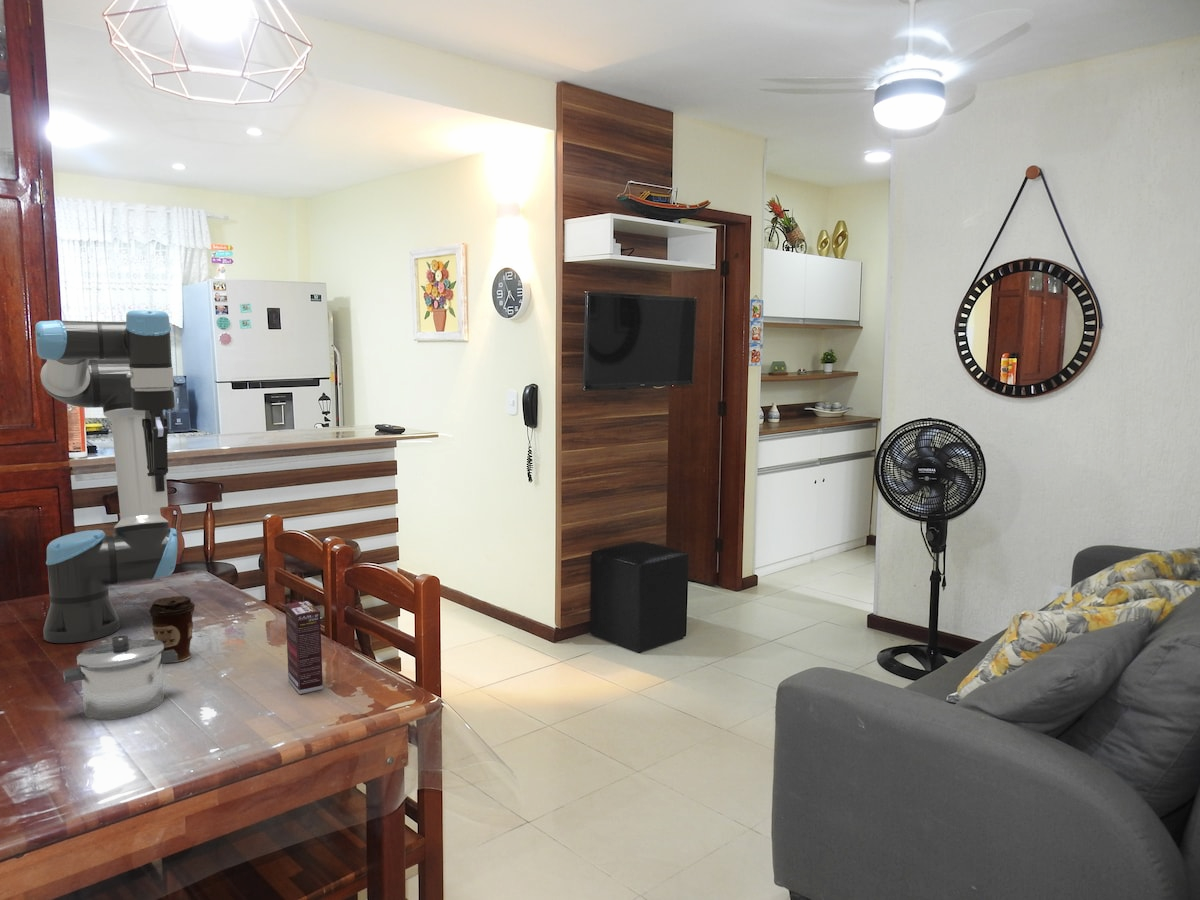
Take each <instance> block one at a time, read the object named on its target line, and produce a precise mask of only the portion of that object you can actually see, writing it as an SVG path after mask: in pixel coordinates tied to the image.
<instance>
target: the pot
mask: <svg viewBox="0 0 1200 900" xmlns="http://www.w3.org/2000/svg"><path fill="white" fill-rule="evenodd" d="M173 661H178V654H177V653H176V651H175V650H174V649H172V650H166V651H163V652H162V653H160V654H159V655H157V656H155V657H153V658H150V659H147V660H144V661H141V662H137V663H133V664H128V665H123V666H117V667H109V668H84V667H80V666H78V667H75V668H74V667H73V668H71V669H65V670H64V669H63V670H62V672H63V680H64V683H65V684H68V683H73V682H79V681H81V687H82V688H81V689H82V701H83V712H84V716H86V717H87V718H90V719H92V720H99V721H100V720H101V721H107V720H108V721H109V720H111V721H112V720H119V719H126V718H131V717H134V716H139V715H142V714H145V713H147V712H149V711H151V710H153V709H155V708H158V706H160V705H161V704H162V703H163V702H164V699H165V693H164V691H165V690H164V680H163V679H164V678H163V664H169V663H168V662H170V663H174V662H173Z"/></svg>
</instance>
